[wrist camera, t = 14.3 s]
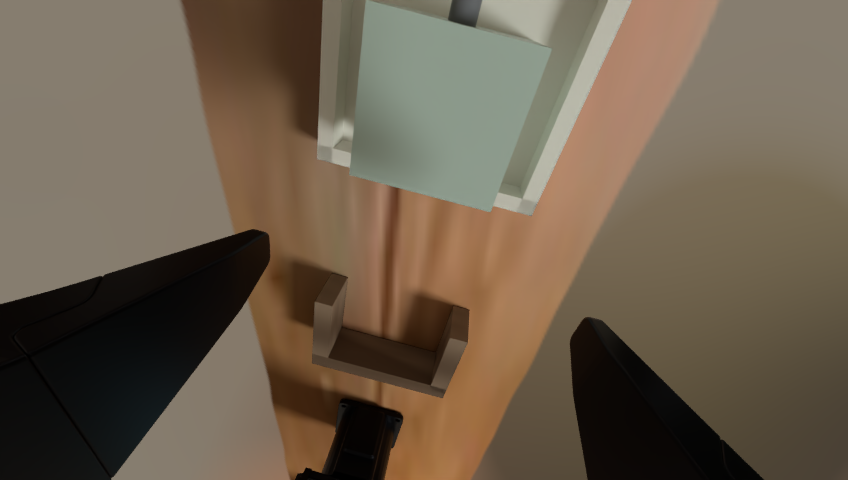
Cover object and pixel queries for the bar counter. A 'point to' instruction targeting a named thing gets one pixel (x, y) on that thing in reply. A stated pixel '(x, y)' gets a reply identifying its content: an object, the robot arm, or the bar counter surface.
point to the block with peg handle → (441, 101)
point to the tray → (501, 11)
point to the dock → (384, 347)
